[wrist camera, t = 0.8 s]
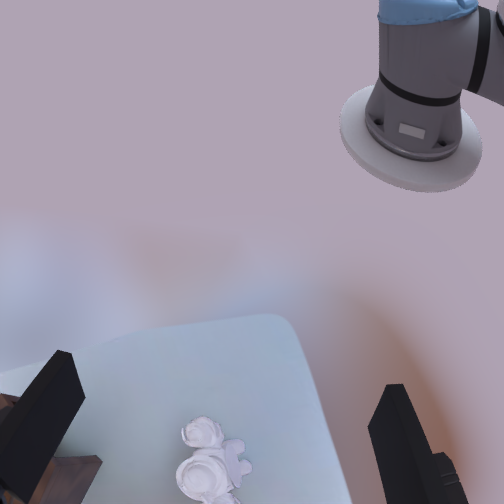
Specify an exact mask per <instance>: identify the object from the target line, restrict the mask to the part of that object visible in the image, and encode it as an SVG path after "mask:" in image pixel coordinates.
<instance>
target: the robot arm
mask: <svg viewBox="0 0 504 504" xmlns="http://www.w3.org/2000/svg"><path fill="white" fill-rule="evenodd" d="M377 17H378V20H379V78H378V80H377V82H376V84H375V87H374V89H373V91H372V93H371V95H370V97H369V99H368V102H367V104H366V108H365V123H366V127H367V129H368V131H369V133H370V135H371V136H372V137H373V138H374V140H375V141H376V142H377V143H379V144H380V145H381V146H382V147H384V148H385V149H387V150H388V151H390V152H392V153H393V154H396V155H398V156H400V157H403V158H406V159H409V160H414V161H419V162H435V161H440V160H443V159H446V158H448V157H450V156H451V155H452V154H453V153H455V151H456V150H457V148H458V146H459V143H460V141H461V138H462V117H461V107H460V95H461V91H462V89H465V90H468V91H470V92H473V93H475V94H478V95H480V96H482V97H485V98H487V99H489V100H491V101H494V102H496V103H498V104H500V105H502V106H504V0H500V1H499V4H498V6H497V12H494V11H492V10H489V9H486V8H484V7H481V6H478V1H477V0H379V12H378V15H377ZM85 398H86V397H85V395H84V392H83V389H82V386H81V383H80V380H79V377H78V373H77V370H76V367H75V364H74V360H73V357H72V353H68V352H64V351H60V350H57V351H56V352H55V354H54V355H53V356H52V357H51V359H50V360H49V361H48V362H47V364H46V365H45V366H44V367H43V369H42V370H41V371H40V372H39V374H38V375H37V376H36V377H35V379H34V380H33V381H32V383H31V384H30V385H29V386H28V388H27V389H26V390H25V392H24V393H23V394H22V396H21V397H20V398H19V400H18V401H17V402H16V404H15V405H14V406H13V407H11V406H8V405H6V406H5V407H4V408H2V409H1V410H0V504H7V501H6V498H5V496H4V493H5V491H7V492H8V493H9V494H10V495H11V496H12V497H13V498H14V499H16V500H18V501H20V502H22V503H24V504H28V503H29V501H30V499H31V497H32V495H33V493H34V491H35V489H36V487H37V485H38V483H39V481H40V479H41V477H42V475H43V474H44V472H45V470H46V468H47V466H48V464H49V462H50V460H51V458H52V457H53V455H54V453H55V451H56V449H57V447H58V445H59V444H60V442H61V440H62V438H63V436H64V435H65V433H66V431H67V429H68V427H69V426H70V424H71V422H72V420H73V419H74V417H75V415H76V413H77V412H78V410H79V408H80V406H81V405H82V403H83V401H84V400H85ZM368 430H369V434H370V437H371V441H372V445H373V448H374V452H375V456H376V460H377V464H378V468H379V472H380V476H381V480H382V484H383V488H384V492H385V497H386V501H387V504H469V503H468V501H467V498H466V495H465V493H464V490H463V487H462V485H461V483H460V482H459V477H458V475H457V474H456V470H455V468H454V465H453V463H452V461H451V460H450V459H449V457H448V456H446V454H445V453H444V452H441V453H436V454H432V451H431V449H430V446H429V444H428V441H427V439H426V436H425V434H424V432H423V429H422V427H421V424H420V422H419V420H418V417H417V415H416V413H415V411H414V408H413V406H412V403H411V401H410V399H409V397H408V394H407V392H406V390H405V388H404V385H403V384H390V385H386V387H385V390H384V392H383V395H382V397H381V399H380V401H379V404H378V406H377V408H376V410H375V412H374V415H373V417H372V419H371V421H370V423H369V425H368Z"/></svg>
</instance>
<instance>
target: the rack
mask: <svg viewBox="0 0 504 504" xmlns="http://www.w3.org/2000/svg"><path fill="white" fill-rule="evenodd" d="M19 398H20V397H17V396H12V395H6V394H2V393H1V394H0V410H1V409H2V408H4V407H5V406H6V405H8V406H11V407H13V406H14V405H15V404H16V402H17V401H18V400H19ZM102 462H103V461H102V460H101V459H99V458H98V457H97V456H96V455H93V456H80V457H63V458H55V457H54V456H53V457H52V458H51V460H50V462H49V464H48V466H47V468H46V470H45V472H44V474H43V475H42V477H41V479H40V481H39V483H38V485H37V487H36V489H35V491H34V493H33V495H32V497H31V499H30V501H29V503H28V504H81V502H82V500H83V498H84V496H85V494H86V492H87V490H88V488H89V486H90V485H91V483H92V481H93V479H94V477H95V475H96V473H97V471H98V469H99V467H100V466H101V464H102ZM4 496H5V498H6V501H7V504H24V503H22V502H20V501H18V500H16V499H14V498H13V497H12V496H11V495H10V494H9V493H8V492H7V491H5V493H4Z"/></svg>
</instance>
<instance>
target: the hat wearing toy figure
mask: <svg viewBox="0 0 504 504" xmlns="http://www.w3.org/2000/svg"><path fill="white" fill-rule="evenodd" d="M192 421H193V422H192ZM185 433H186V437H187V439H186V438H185V436H184V432H183V427H182V431H181V436H182V438H183V441H184V442H185V443H186V444H187V445H188V446H191V447H197V448H200V449H198V450H196V451H195V452H193V456H192V457H190V458H188V459H186V460H185V461H183V462H182V463H181V464H180V466H179V467H178V469H177V472H176V480H177V484H178V486H179V487H180V489H181V490H182V492H183V493H184V494H185V495H187V496H188V497H190V498H192V499H194V500H198V501H203V502H202V503H201V504H235V500H236V501H237V502H238V504H241V503H240V501H239V500H238V499H237V498H235V497H234V496H233V495H232V493H230V492H228V491H230V490H233V485H234V486H235V487H236V488H239V487H240V486H241V481H242V477H241V476H245V475H247V474H249V473H251V471H252V465H251V463H250V462H249V461H248V460H240V461H239V460H238V457H237V455H240V454H243V453H244V451H245V444H244V442H243V441H242V440H240V439H231V440H226V441H224V442H223V440H224V437H225V435H224V433H223V432H222V429H221V426H220V424H219V423H218V422H213V421H211V419H209V418H208V417H204V416H201V417H197V418H196V419H194V420H191V421H190V423H189V424H188V426H187V425H186V430H185ZM222 442H223V443H222ZM201 447H202V448H201ZM232 483H233V485H232Z"/></svg>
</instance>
